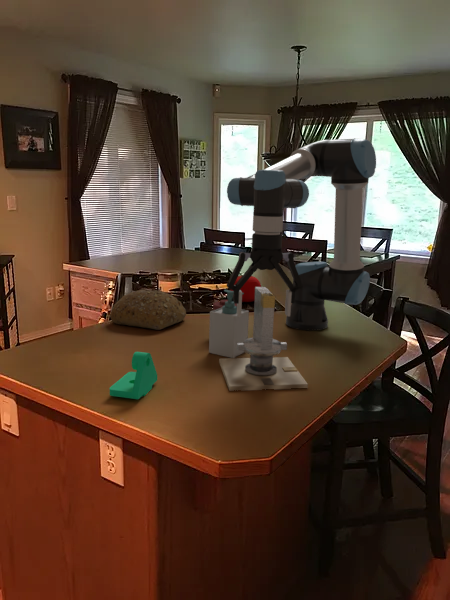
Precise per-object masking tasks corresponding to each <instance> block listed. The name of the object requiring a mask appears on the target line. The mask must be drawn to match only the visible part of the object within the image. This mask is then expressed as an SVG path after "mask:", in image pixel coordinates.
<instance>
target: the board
mask: <svg viewBox="0 0 450 600" xmlns="http://www.w3.org/2000/svg"><path fill="white" fill-rule="evenodd" d="M218 364H219V366H220V368H221V371H222V374H223V378H224V380H225V383H226V385H227V388H228V390H229V392H233V391H234V390H235V391H236V390H237V391H238V390H241V391H263V390H262V389H265V390H264V391H266V389H274V390H292V389H291V388H307V389H308V386H309V383H307V381H306V380H305V378H304V377H303V376H302V374H301V373H300V371H299V370H298V368H297V367H296V366H295V365H294V364H293V363H292V361H291V359H290V358H289V357H288V356H283V357H282V356H281V357H280V356H278V357H277V356H275V357H274V356H273V363H272V365H274V366H276V368H277V372H276V373H275V374H274V375H271V376H254V375H251V374H249V373H247V372H246V371H245V366H246V365H247V364H250V357H235V358H230V357H225V358H221V357H220V358H219V360H218Z"/></svg>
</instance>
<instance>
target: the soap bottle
mask: <svg viewBox="0 0 450 600" xmlns="http://www.w3.org/2000/svg"><path fill="white" fill-rule="evenodd" d="M223 292H224V293H226V297H227V300H228V301H226V302H225V306H223V307H222V308H219V309H216V310H213V309H212V310H211V311H209V329H208V331H209V333H208V334H209V335H208V336H209V338H208V342H209V343H208V353H210V354H213V355H216V356H217V355H218V356H223V357H225V358H237V357H238V356H240V355H242V354H244V353H245V352H244V351H238V350H237V343H243V341H244V340H246V339H248V338H249V337H248V336H249V314H250V313H249V312H250V311H249V309H242V311H241V317H238V315H237V307H236V306H235V303H234V301H233V293H234V291H230V289H229V290H228V289H224V290H223ZM243 294H244V293H242V295H243Z"/></svg>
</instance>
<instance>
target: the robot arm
mask: <svg viewBox="0 0 450 600" xmlns="http://www.w3.org/2000/svg"><path fill="white" fill-rule="evenodd" d="M376 168H377V155H376V151H375V148H374V145H373V143H372V141H369V140H368V139H366V138H343V139H342V138H341V139H337V138H335V139H321V140H317V141H315V142H311V143H308V144H306V145H304V146H301V147H300V148H297V149H295V150H294V151H293V152H291V154H290V156H288V157H286V158H284V159H282V160H280V161H278V162H276V163H274V164H273V165H270V166H268V167H266V168H264V169H258V170H257V171H256V172H255V173H254V174H251V175H249V176H247V177H234V178H232V179H231V180H229V181H228V184H227V189H226V194H227V199H228V201H229V203H230V204H233V205H236V206H241V207H243V206H245V207H246V206H247V207H253V213H252V214H253V216H252V217H253V219H252V231H253V232H254V233H253V234H252V236H251V250H250V252H244V251H240V252H239V253H238V260H237V262H236V264H235V266H234V268H233V271H232V273H231V275H230V277H229V279H228V280H227V283H226V287H227V290H228V289H229V290H230V289H231V290H233V291H234V293H233V298H232V301H233V302H234V303H235V304H237V315H238V317H241V311H242V306H243V304H242V303H243V302H242V291H241V290H240V289H241V288H242V287H243V285H244V284H245V283H246V282H247V280H248V279H249V278H250V277H251V276H253V274H254V273H255V272H257V270H260V271H264V270H268V271H273V270H275V271H276V272H277V273H278V275H279V276H280V278H281V280H282V281H283V282H284V283H285V284H286V286H287V287H288V289H286V290H285V305H284V314H285V315H286V317H285V324H286V325H287V326H288V327H290V328H292V329H297V330H300V331H301V330H302V331H319V330H321V331H322V330H325V329H327V328H328V322H329V319H328V315H327V312H326V307H325V301H329V302H335V303H340V304H344V305H355V306H357V305H359V304H361V302H363V300H364V299H365V298H366V295H367V294H368V290H369V287H370V282H371V276H370V273H369V272H367V271H365V264H364V263H363V262H362V261H361V259H360V258H361V240H362V239H361V238H362V237H361V236H362V219H363V218H362V217H363V197H364V196H363V194H364V187H366V185H368V183H369V179H370V178H372V177H373V176H375V175H374V174H375V172H376ZM311 177H327V178H330V179H331V180H330V182H331V185H332V186H333V187H334V188H335V198H334V199H335V200H334V201H335V203H334V204H335V206H334V207H335V209H334V232H333V233H334V238H333V260H332V261H331V262H329V264H328V263H327V262H326V261H307V262H305V261H304V262H300V263H296V264H295V262H294V260H295V258H294V253H292V252H289V251H287V252H284V253H283V252H282V251H283V250H282V245H283V244H282V243H283V235H282V234H281V233H282V232H283V226H284V225H283V224H284V222H283V221H284V209H297V208H301V207H303V206H304V205H305V204H307V202H308V199H309V197H310V190H309V186H308V185H307V184H306V182H305V181H303V180H305V179H308V178H311ZM249 258H250V260H251V261H252V263H250V265H249V267H248V269H246V271H245V272H244V273H243V274H242V275H243V276H242V275H241V276H242V277H241V278H240V279H239V281H238V282H237V283H236V284H235V281H236V279H237V277H238V276H240V273H241V271H242V269H243V267H244V265H245V262H247V261H248V260H249ZM282 259H283V260H284V261H285V262H286V263H287V266H288V268H289V272H290V274H291V276H292V278H293V279H292V281H293V282H292V281H291V279H290V278H289V277H288V275H287V274H286V272H285V271H284V270H283V267H282V266H281V265H280V264H279V263H280V262H281V260H282ZM234 284H235V285H234Z"/></svg>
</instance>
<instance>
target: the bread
mask: <svg viewBox="0 0 450 600" xmlns="http://www.w3.org/2000/svg"><path fill="white" fill-rule="evenodd" d="M186 316H187V311H186V308H185V307H184V306H183V303H182V302H181V301H180V300H179V299H178V298H177V297H175V296H173V295H172V294H171V293H167V292H164V291H162V290H154V288H151V289H150V288H149V289H146V288H141V289H138V290H134V291H130V292H129V293H127V294H125V295H123V296H122V297H121V298H120V299H119V300H117V301H116V302H115V303H114V304H113V306H112V307H111V311H110V315H109V317H110V319H111V322H113V323H114V324H116V325H120V326H121V325H123V326H129V327H138V328H139V327H140V328H145V329H152V330H163V329H165V328H167V327H170V326H172V325H174V324H178V323H179V322H182V321H183V320H184V319H185V318H186Z"/></svg>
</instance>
